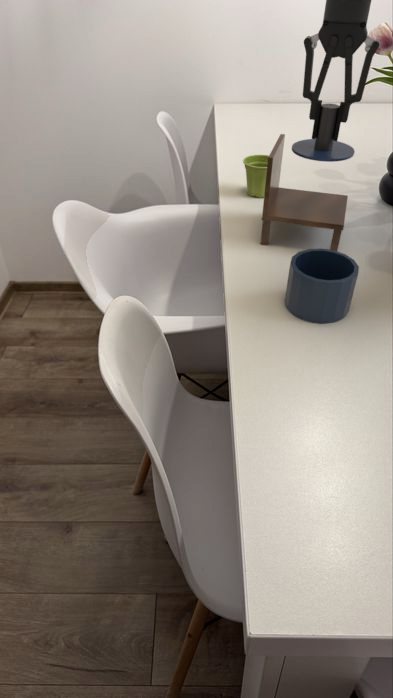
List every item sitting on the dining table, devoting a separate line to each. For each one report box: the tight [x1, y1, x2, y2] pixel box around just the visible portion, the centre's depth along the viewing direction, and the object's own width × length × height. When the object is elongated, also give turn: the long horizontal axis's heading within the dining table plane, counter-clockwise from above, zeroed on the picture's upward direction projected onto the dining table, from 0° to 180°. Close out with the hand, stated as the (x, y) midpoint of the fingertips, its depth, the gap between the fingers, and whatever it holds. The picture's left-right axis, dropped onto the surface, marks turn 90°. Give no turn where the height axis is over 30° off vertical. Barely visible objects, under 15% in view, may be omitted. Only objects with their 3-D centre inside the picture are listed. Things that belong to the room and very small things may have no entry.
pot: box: [284, 247, 360, 324], centre depth 87 cm, size 12×12×8 cm
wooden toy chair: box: [260, 133, 349, 252], centre depth 105 cm, size 17×16×19 cm
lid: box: [291, 103, 356, 163], centre depth 96 cm, size 13×13×9 cm
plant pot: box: [242, 154, 270, 199], centre depth 126 cm, size 9×9×9 cm
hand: (324, 137), depth 97 cm, fingers closed on lid, 4 cm apart
